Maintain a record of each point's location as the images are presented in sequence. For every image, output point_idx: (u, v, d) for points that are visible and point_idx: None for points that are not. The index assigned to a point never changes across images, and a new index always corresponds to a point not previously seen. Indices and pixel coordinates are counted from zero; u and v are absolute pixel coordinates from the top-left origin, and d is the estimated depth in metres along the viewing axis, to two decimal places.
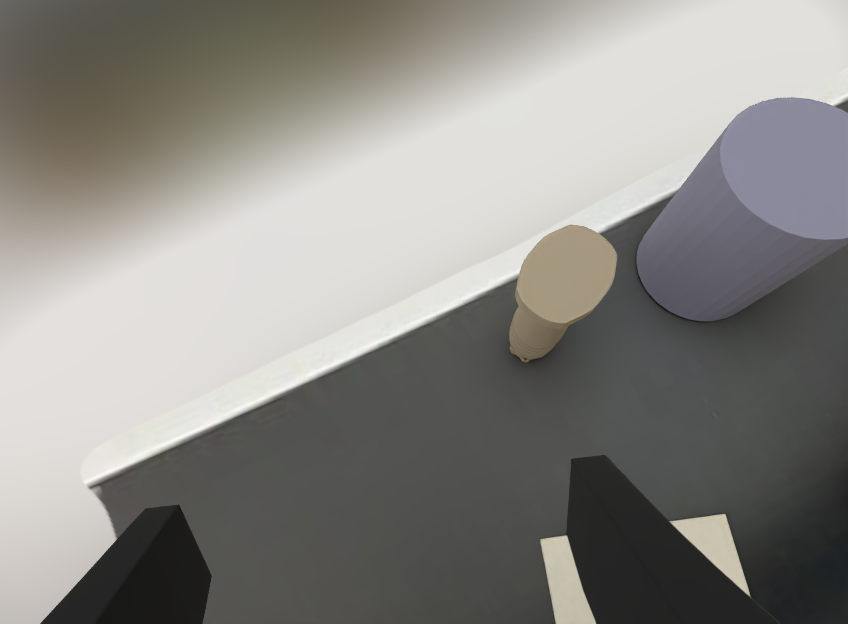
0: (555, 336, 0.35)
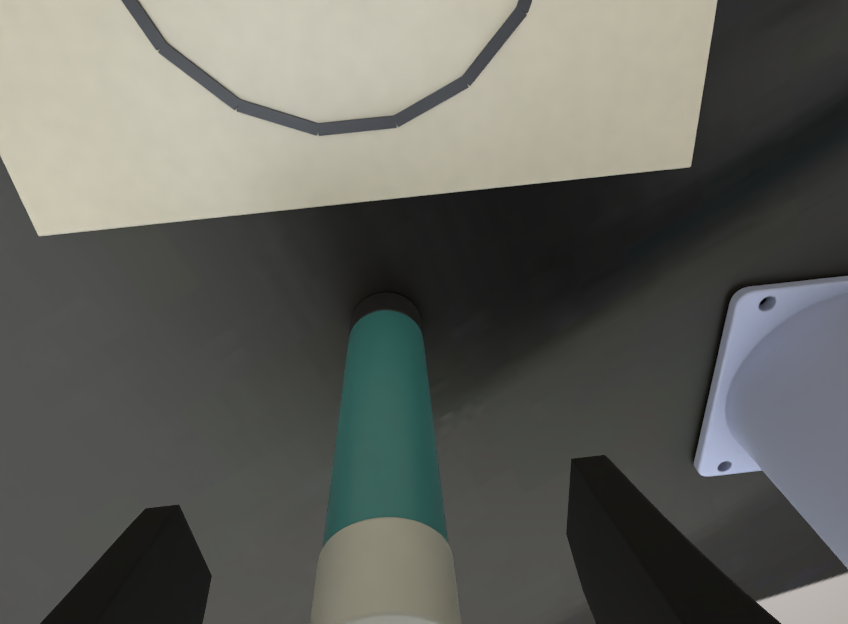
0: None
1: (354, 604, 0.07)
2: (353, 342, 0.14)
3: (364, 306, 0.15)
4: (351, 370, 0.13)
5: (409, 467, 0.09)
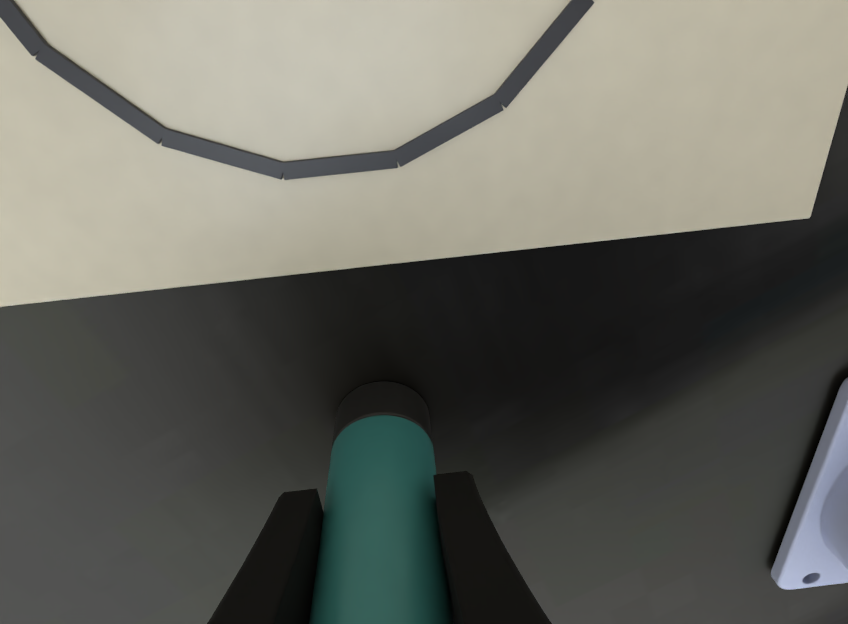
0: None
1: None
2: (336, 469, 0.10)
3: (353, 403, 0.11)
4: (331, 528, 0.09)
5: None
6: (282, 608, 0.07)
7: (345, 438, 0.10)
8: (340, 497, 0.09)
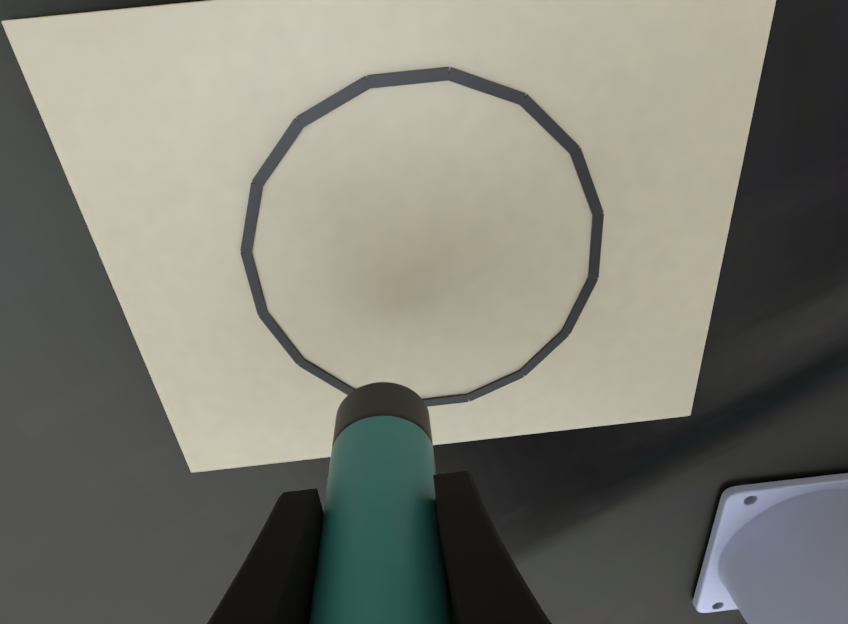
0: None
1: None
2: (336, 470, 0.10)
3: (352, 404, 0.11)
4: (330, 529, 0.09)
5: None
6: (282, 608, 0.07)
7: (345, 439, 0.10)
8: (340, 498, 0.09)
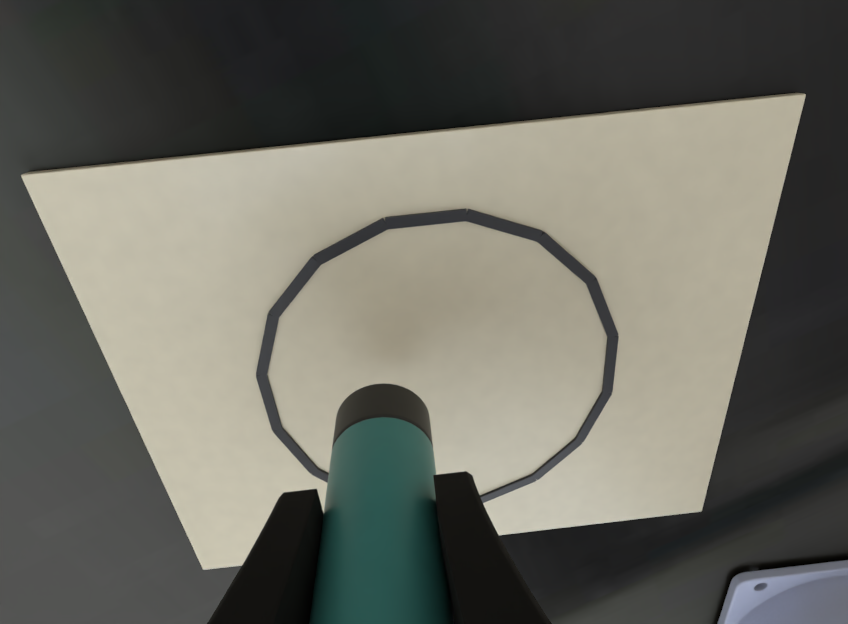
0: None
1: None
2: (336, 471, 0.10)
3: (352, 405, 0.11)
4: (330, 531, 0.08)
5: None
6: (282, 608, 0.07)
7: (345, 440, 0.10)
8: (340, 500, 0.09)
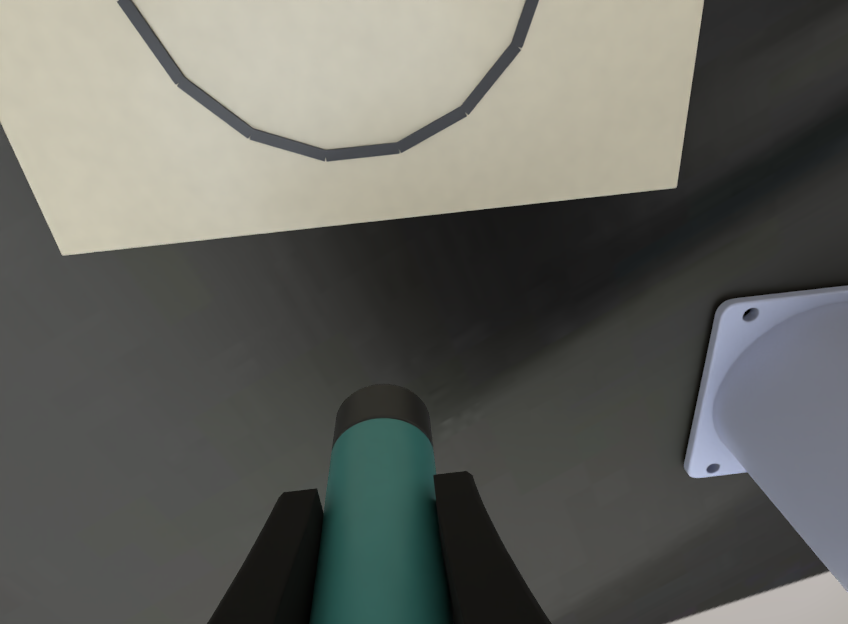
0: None
1: None
2: (336, 472, 0.10)
3: (353, 406, 0.11)
4: (330, 532, 0.08)
5: None
6: (282, 608, 0.07)
7: (345, 441, 0.10)
8: (340, 501, 0.09)
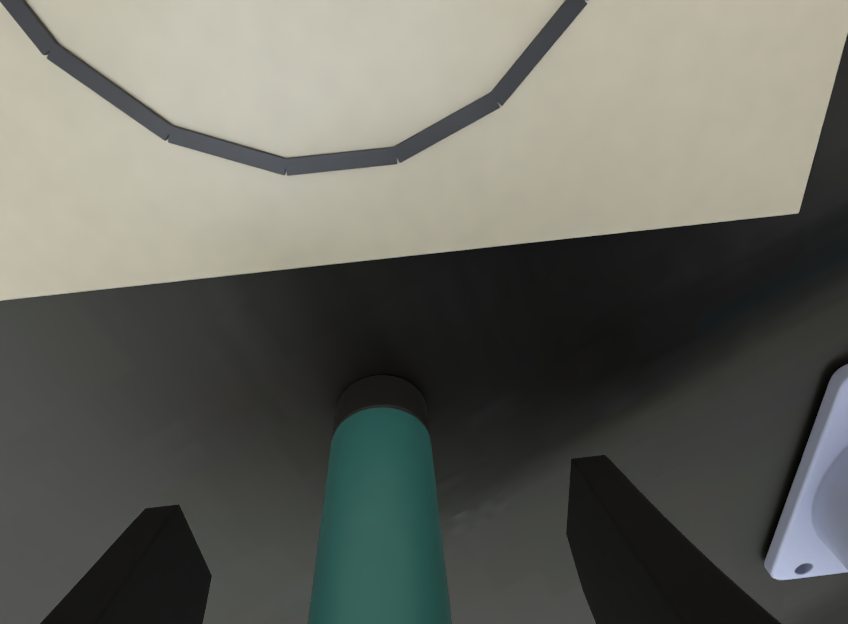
0: None
1: None
2: (336, 459, 0.10)
3: (351, 396, 0.11)
4: (331, 515, 0.09)
5: None
6: None
7: (344, 429, 0.11)
8: (340, 485, 0.09)
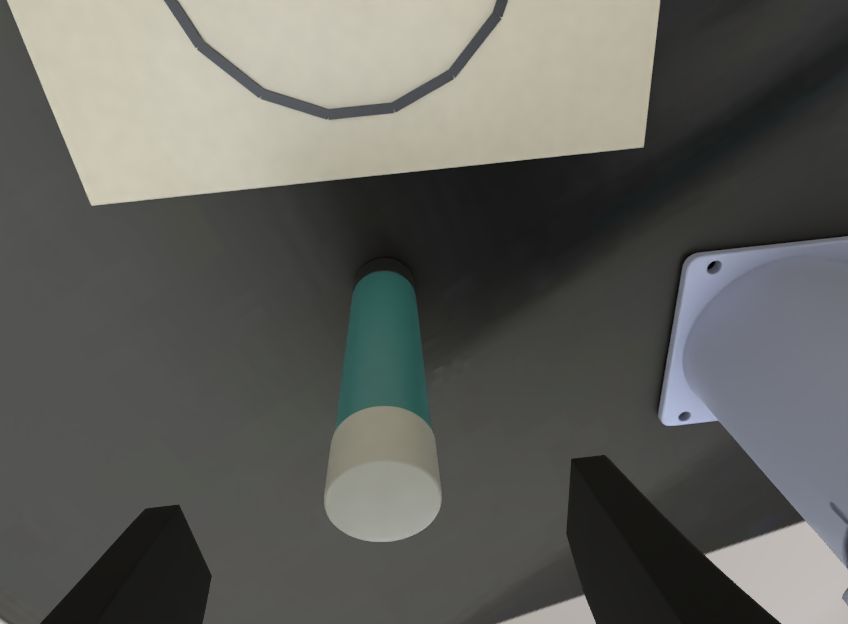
0: None
1: (361, 455, 0.10)
2: (356, 296, 0.16)
3: (365, 268, 0.18)
4: (355, 315, 0.15)
5: (402, 378, 0.12)
6: None
7: (361, 283, 0.17)
8: (359, 304, 0.16)
